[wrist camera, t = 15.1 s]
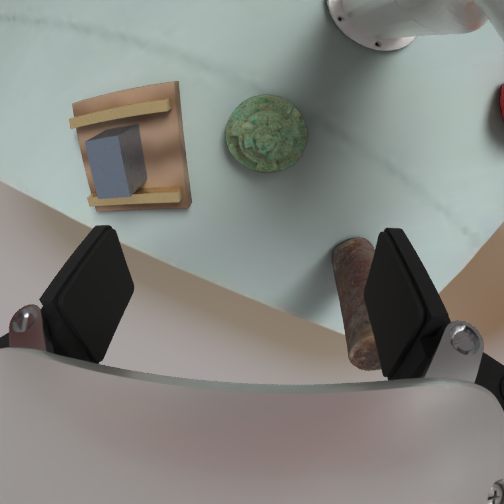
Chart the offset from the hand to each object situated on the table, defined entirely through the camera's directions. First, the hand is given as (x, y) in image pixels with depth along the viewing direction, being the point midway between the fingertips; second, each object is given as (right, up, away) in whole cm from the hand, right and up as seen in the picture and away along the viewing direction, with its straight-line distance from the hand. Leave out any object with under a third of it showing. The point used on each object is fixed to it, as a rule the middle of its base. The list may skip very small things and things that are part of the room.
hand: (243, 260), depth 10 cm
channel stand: (-17, +15, +28) cm, 36 cm away
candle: (+17, 0, +37) cm, 40 cm away
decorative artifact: (+2, +16, +26) cm, 31 cm away
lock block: (-17, +14, +26) cm, 34 cm away
